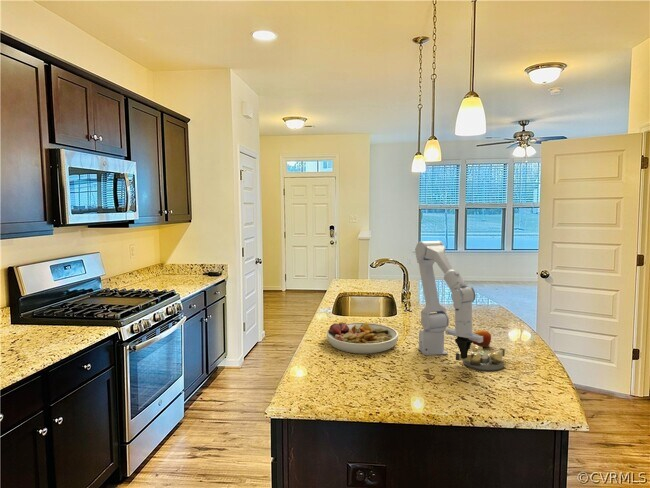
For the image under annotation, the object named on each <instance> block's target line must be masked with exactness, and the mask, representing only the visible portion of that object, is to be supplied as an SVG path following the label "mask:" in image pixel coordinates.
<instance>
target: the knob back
mask: <svg viewBox="0 0 650 488" xmlns="http://www.w3.org/2000/svg"><path fill="white" fill-rule="evenodd" d="M483 349H484V347H481V346H477V345H474V344H473V343H471V345H470V347H469V350H470V352H471V351H472V352H477V351H484V350H483Z"/></svg>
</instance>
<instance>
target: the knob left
mask: <svg viewBox="0 0 650 488" xmlns="http://www.w3.org/2000/svg"><path fill="white" fill-rule="evenodd" d="M455 361H462V362H463V361H470V363H472V364H481V354H480V353H477V352H471V351H470V352H469V353H467V358H465V359H462V358H461V353H460V351H455Z"/></svg>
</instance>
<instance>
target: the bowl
mask: <svg viewBox="0 0 650 488" xmlns="http://www.w3.org/2000/svg"><path fill="white" fill-rule="evenodd" d="M326 338H327V339H326V340H327V341H328V343H329V344H330V345H331V346H332V347H334V348H335V349H337V350H339V351H342V352H346V353H351V354H358V355H361V354H363V355H364V354H365V355H366V354H378V353H382V352H386V351H388V350H390V349H391V348H392V349H393V347H394V346H395V345H396V344H397V342H398V340H399V333H398V330H396V329H395V328H393V327H391V326H387V325H384V324H378V323H373V322H371V323H370V322H350V323H345V322H339V323H332V324H331V325H330V326H329V328H328V330H327V331H326Z"/></svg>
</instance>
